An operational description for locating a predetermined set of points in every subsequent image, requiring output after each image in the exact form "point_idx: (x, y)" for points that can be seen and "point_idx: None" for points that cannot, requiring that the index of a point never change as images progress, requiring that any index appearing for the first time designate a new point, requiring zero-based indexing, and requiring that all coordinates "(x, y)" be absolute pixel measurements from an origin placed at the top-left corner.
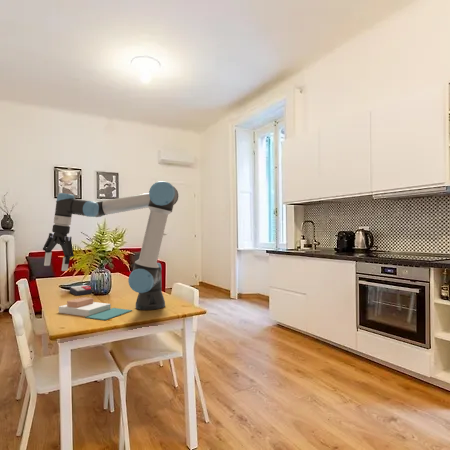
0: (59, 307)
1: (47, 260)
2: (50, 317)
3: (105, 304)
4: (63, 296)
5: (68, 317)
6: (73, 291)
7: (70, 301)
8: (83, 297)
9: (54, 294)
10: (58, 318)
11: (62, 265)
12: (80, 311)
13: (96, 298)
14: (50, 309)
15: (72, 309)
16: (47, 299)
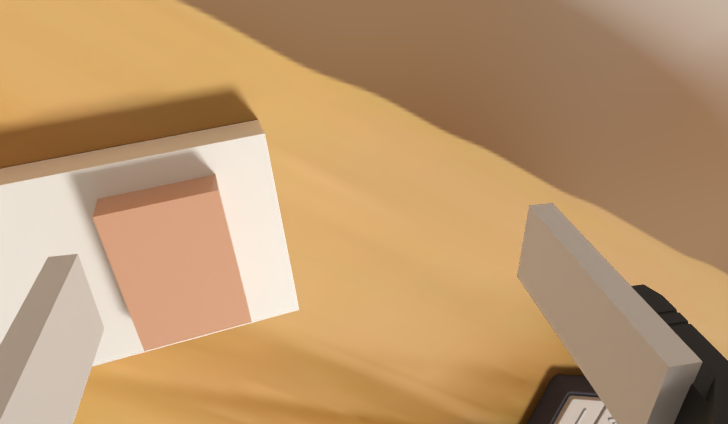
0: (254, 133)
1: (565, 286)
2: (166, 8)
3: None
4: None
5: (40, 85)
6: None
7: (182, 200)
8: (241, 319)
9: (685, 315)
10: (75, 24)
11: (40, 317)
12: (11, 176)
13: (398, 414)
14: (397, 134)
15: (105, 161)
16: (631, 244)
